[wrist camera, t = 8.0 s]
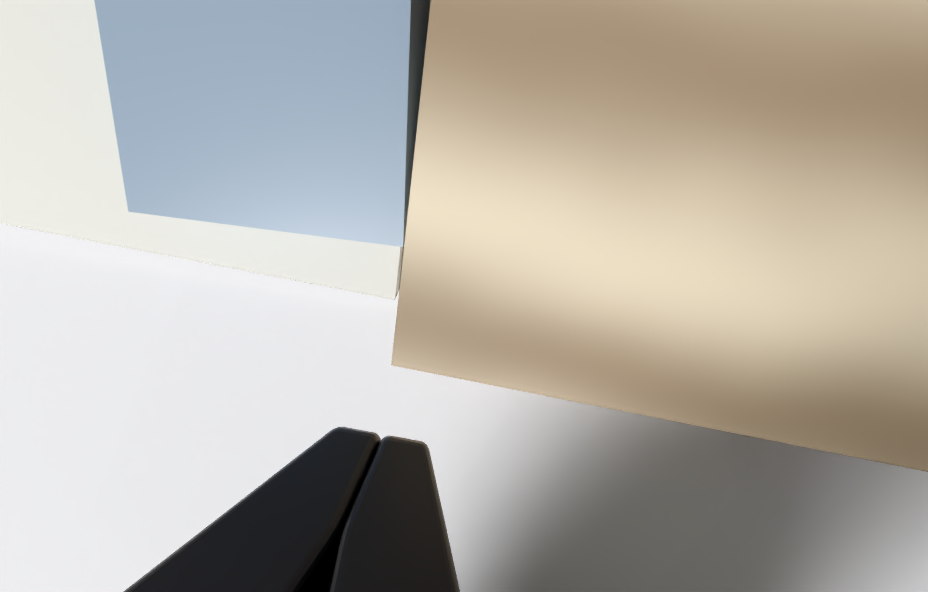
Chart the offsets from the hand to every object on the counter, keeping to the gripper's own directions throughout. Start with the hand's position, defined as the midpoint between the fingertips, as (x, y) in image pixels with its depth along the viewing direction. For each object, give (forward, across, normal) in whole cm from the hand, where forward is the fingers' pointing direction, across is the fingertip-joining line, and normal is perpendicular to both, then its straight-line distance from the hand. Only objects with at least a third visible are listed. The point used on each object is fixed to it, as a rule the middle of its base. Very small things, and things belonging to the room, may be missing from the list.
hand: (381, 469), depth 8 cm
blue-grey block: (+11, +5, -2) cm, 12 cm away
